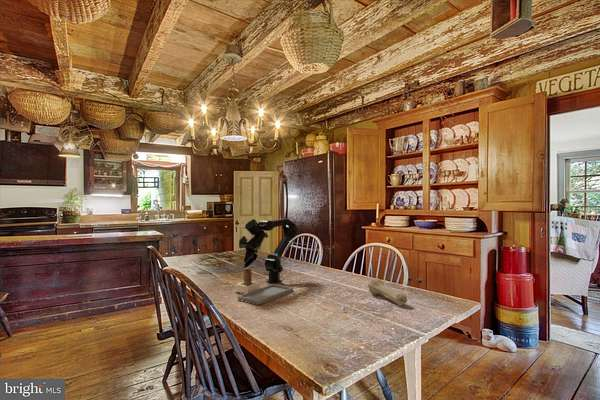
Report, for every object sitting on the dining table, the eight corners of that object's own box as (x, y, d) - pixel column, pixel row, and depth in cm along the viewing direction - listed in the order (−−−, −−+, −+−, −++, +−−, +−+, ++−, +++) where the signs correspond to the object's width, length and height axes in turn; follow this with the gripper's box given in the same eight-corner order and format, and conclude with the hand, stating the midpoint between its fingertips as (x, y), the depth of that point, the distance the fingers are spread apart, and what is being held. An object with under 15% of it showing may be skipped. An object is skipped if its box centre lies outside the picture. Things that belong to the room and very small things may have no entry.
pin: (247, 289, 164) (247, 267, 164) (253, 290, 162) (252, 268, 162) (242, 291, 160) (242, 268, 161) (247, 292, 158) (247, 269, 158)
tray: (272, 287, 168) (272, 283, 168) (293, 291, 160) (293, 287, 160) (237, 299, 147) (237, 296, 147) (259, 305, 139) (259, 301, 139)
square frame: (247, 287, 167) (247, 280, 167) (260, 290, 162) (259, 282, 162) (235, 292, 160) (235, 284, 160) (247, 294, 155) (247, 286, 155)
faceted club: (379, 289, 159) (415, 306, 136) (366, 295, 156) (400, 314, 133) (376, 273, 158) (411, 288, 134) (362, 279, 154) (396, 296, 131)
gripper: (244, 241, 176) (231, 265, 168) (243, 226, 160) (229, 252, 152) (262, 248, 175) (250, 273, 167) (263, 234, 159) (249, 261, 151)
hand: (244, 265), depth 159 cm, fingers open, 9 cm apart
